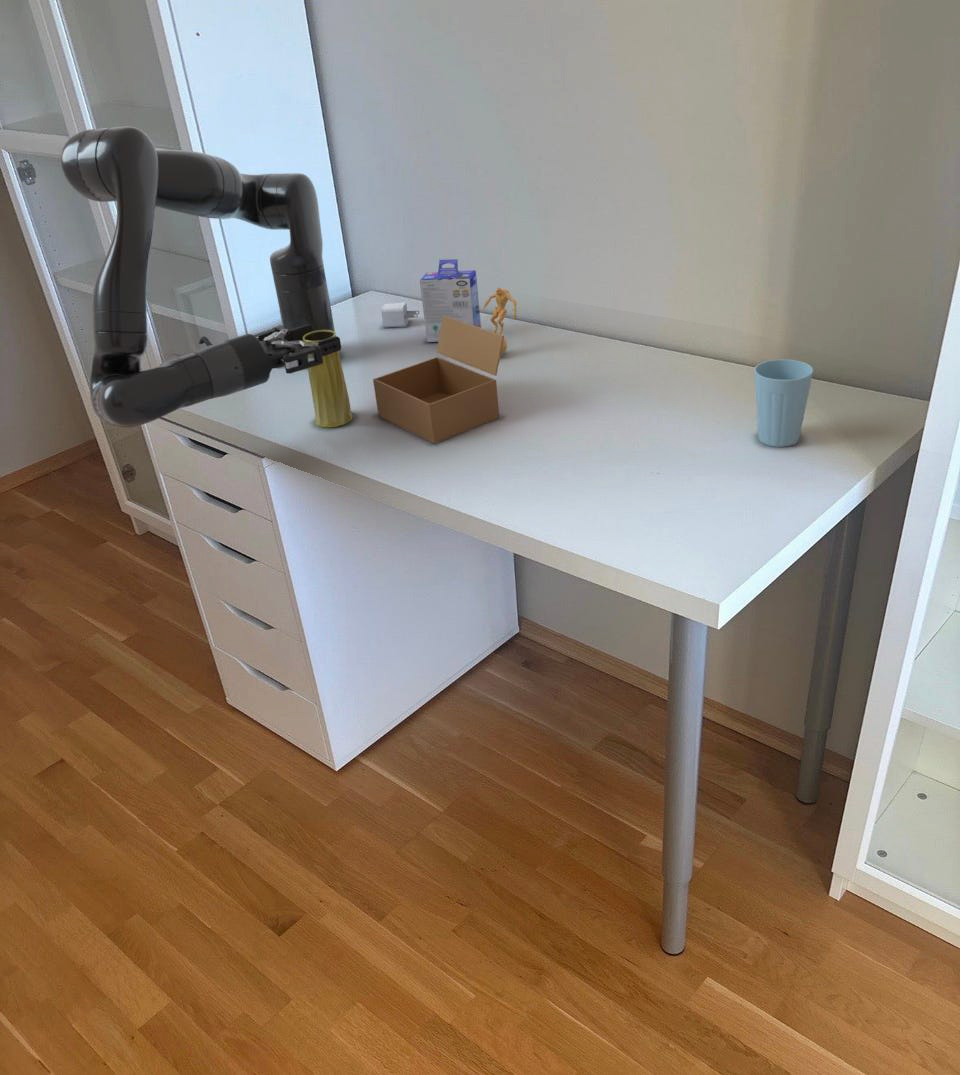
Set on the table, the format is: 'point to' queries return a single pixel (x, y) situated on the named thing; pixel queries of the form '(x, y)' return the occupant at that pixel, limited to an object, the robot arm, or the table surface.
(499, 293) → the figurine
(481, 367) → the flap
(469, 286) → the ink cartridge box
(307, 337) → the vase
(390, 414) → the carton
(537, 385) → the table surface
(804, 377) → the cup
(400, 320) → the usb wall charger
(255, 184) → the robot arm
